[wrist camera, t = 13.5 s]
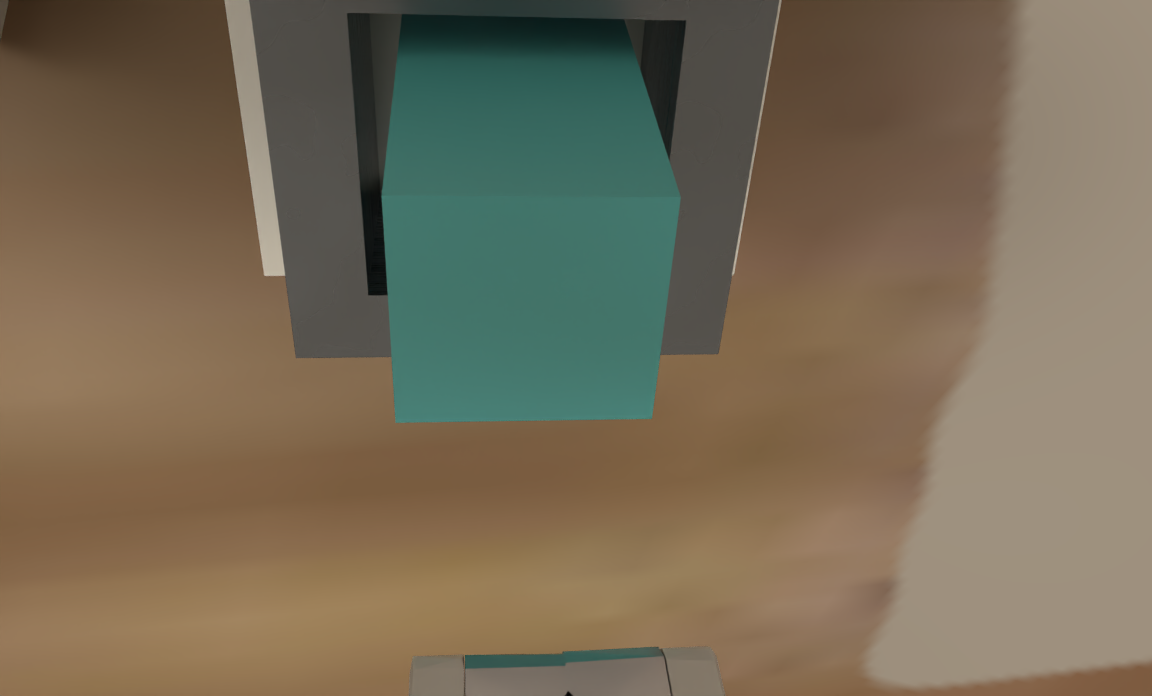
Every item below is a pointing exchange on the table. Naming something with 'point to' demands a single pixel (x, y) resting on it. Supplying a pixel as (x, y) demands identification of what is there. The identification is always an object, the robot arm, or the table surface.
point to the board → (384, 68)
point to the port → (351, 168)
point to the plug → (524, 222)
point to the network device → (3, 14)
